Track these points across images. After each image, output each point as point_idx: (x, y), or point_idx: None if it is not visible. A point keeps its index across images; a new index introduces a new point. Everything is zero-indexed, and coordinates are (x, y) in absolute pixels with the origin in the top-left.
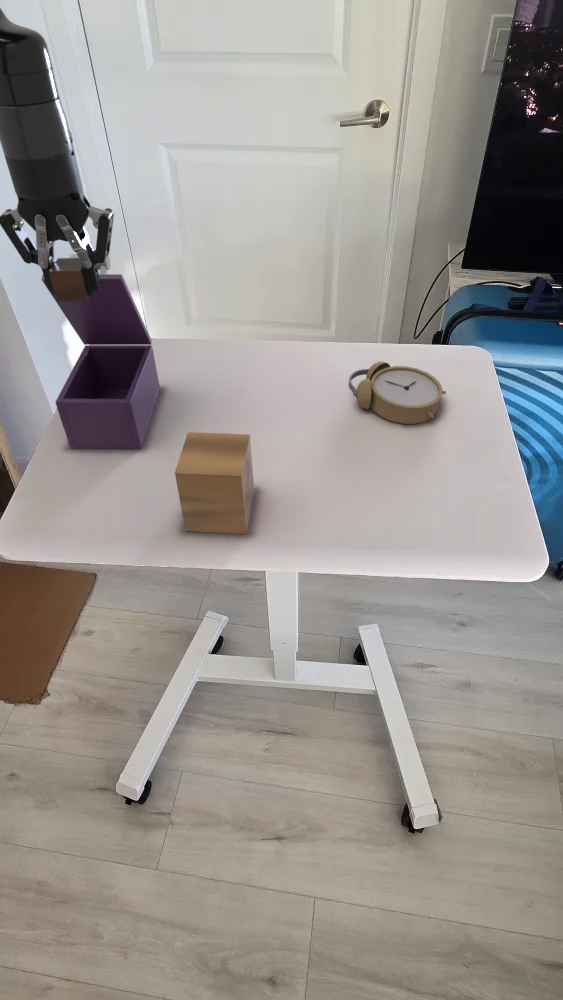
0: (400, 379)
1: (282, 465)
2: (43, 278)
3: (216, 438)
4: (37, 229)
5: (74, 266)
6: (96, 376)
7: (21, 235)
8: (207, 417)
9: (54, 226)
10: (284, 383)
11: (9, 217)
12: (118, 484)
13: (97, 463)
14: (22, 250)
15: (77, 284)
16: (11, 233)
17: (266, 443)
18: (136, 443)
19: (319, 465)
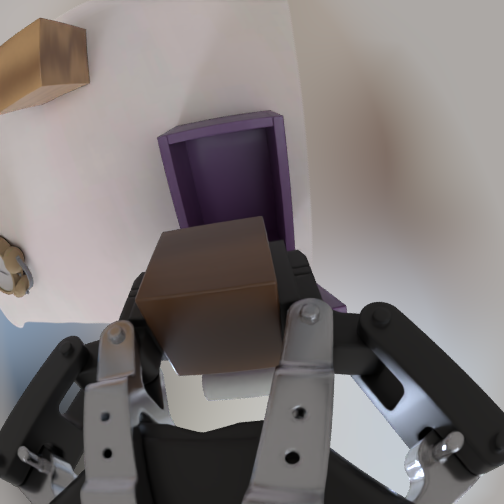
0: (4, 279)
1: (35, 150)
2: (341, 310)
3: (14, 91)
4: (313, 485)
5: (181, 328)
6: (280, 238)
7: (416, 411)
8: (126, 204)
9: (206, 500)
10: (86, 274)
11: (470, 470)
12: (178, 60)
13: (221, 88)
14: (407, 344)
15: (169, 261)
16: (463, 403)
17: (56, 177)
18: (178, 126)
19: (14, 163)
